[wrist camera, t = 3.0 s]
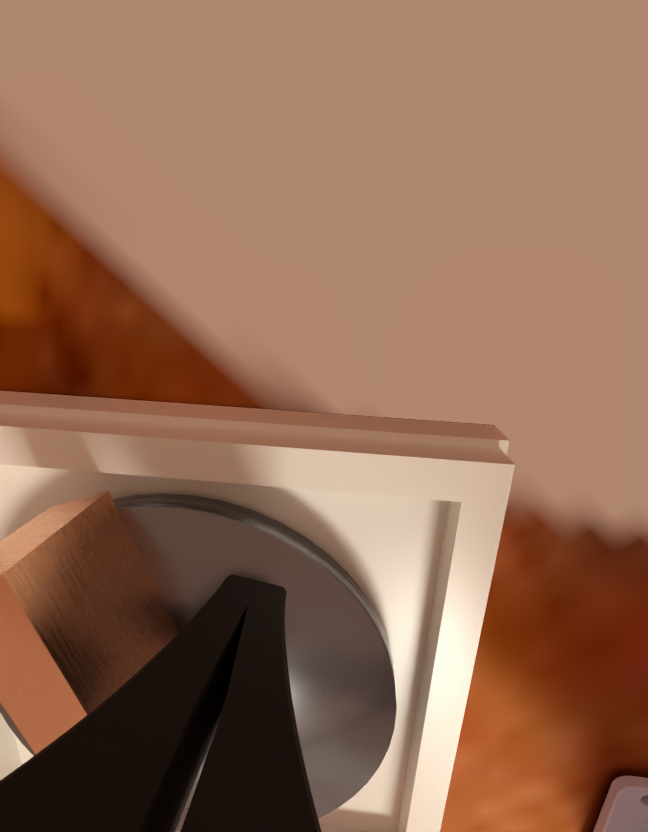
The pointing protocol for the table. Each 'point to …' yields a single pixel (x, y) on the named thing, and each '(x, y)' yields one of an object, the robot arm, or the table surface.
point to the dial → (173, 608)
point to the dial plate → (319, 522)
